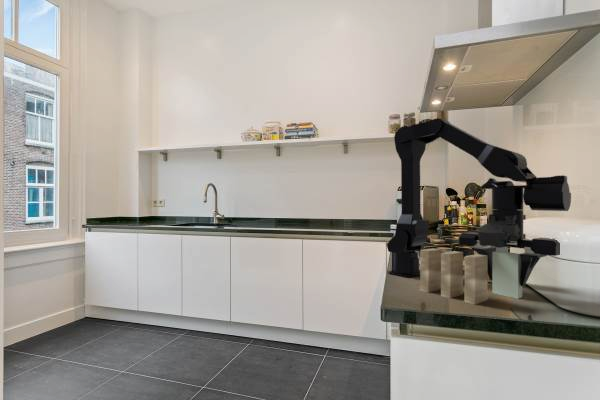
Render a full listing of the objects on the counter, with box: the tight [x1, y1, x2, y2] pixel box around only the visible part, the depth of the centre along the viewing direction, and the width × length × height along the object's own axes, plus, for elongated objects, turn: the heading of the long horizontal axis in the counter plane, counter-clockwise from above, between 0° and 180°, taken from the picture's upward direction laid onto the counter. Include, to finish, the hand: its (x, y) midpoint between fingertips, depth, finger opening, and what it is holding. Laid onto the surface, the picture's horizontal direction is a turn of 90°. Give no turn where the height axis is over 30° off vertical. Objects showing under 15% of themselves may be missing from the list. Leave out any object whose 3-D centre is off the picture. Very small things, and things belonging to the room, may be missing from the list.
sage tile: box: [491, 251, 523, 300], centre depth 70 cm, size 2×5×9 cm, turn 35°
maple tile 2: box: [440, 250, 464, 299], centre depth 70 cm, size 2×5×9 cm, turn 125°
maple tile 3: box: [463, 253, 488, 305], centre depth 66 cm, size 2×5×9 cm, turn 125°
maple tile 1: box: [419, 247, 442, 293], centre depth 74 cm, size 2×5×9 cm, turn 125°
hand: (506, 283), depth 70 cm, fingers open, 6 cm apart
